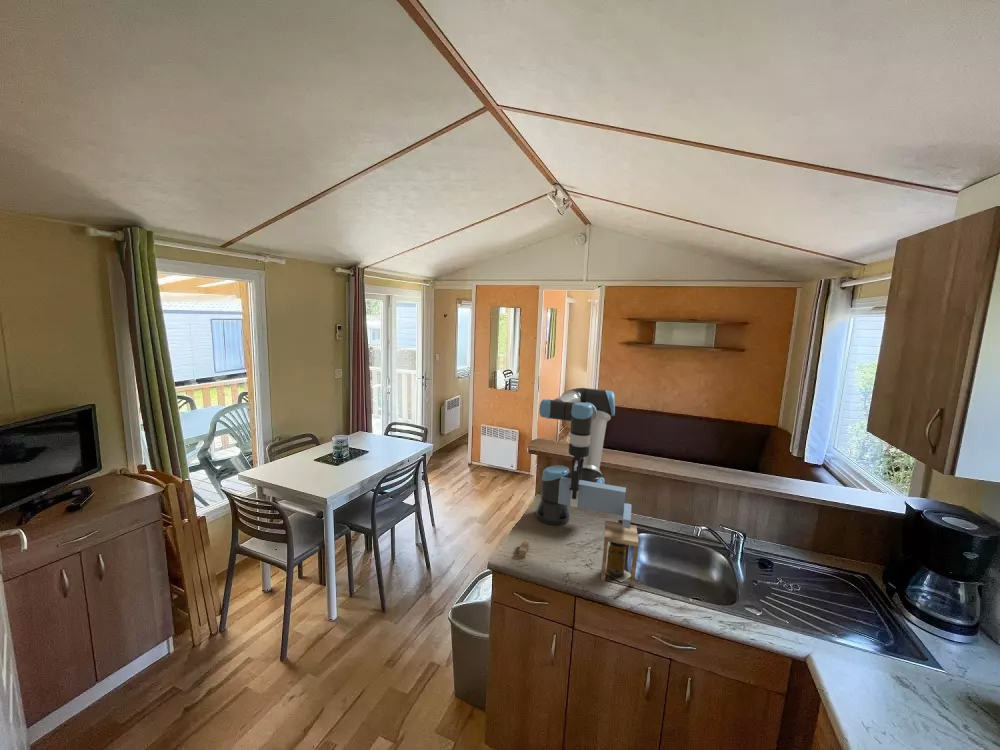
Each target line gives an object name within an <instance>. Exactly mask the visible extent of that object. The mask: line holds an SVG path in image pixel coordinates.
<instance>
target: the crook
mask: <svg viewBox="0 0 1000 750" xmlns="http://www.w3.org/2000/svg"><path fill="white" fill-rule="evenodd" d="M569 488H571V478H566V477H561V479H560V482H559V495H558V504H563V505H568V507H569V506H570V499H571V490H569ZM578 490H579V493H578V506H577V507H576V508H580V509H586V510H590V511H596V512H601V513H605V514H611V515H616V516H617V515H618V516H622V517H623V518H622V523H623V525H622V527H623V528H628V529H630V525H631V523H632V521H631V520H632V506H633V505H632V504H631V503H625V501H626V493H627V492H626V491H627V487H624V486H618V485H613V484H606V483H604V484H601V483H595V482H589V481H583V480H579V486H578ZM570 507H571V506H570Z"/></svg>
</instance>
